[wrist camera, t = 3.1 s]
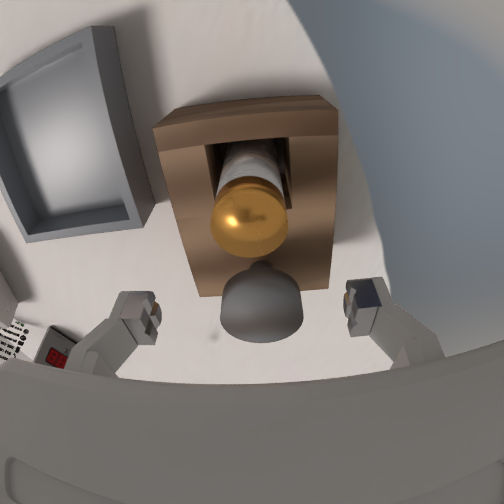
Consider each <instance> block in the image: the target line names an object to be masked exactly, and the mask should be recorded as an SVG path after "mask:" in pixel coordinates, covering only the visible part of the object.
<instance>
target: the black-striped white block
mask: <svg viewBox="0 0 504 504" xmlns="http://www.w3.org/2000/svg"><path fill="white" fill-rule="evenodd" d="M18 303H19V302H18V301H17V299H16V298H15V296H14V294H13V293H12V291H11V289H10V287H9V286H8V284H7V282H6V280H5V278H4V277H3V275H2V273H1V271H0V329H1V328H3V329H6V328H8V327H10V326H11V323H12V320H13V317H14V314H15V311H16V308H17V306H18Z"/></svg>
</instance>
